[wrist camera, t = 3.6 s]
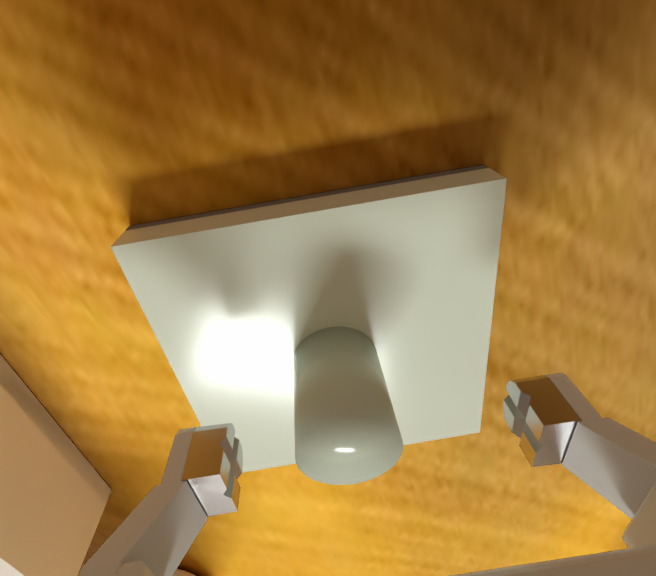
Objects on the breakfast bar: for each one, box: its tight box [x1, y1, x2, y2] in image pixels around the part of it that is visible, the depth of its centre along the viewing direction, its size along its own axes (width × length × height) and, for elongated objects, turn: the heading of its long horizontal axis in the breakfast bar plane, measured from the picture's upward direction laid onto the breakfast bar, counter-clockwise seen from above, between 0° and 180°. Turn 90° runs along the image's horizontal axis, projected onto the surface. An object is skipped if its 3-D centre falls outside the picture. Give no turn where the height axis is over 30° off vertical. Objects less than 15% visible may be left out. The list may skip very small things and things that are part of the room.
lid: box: [111, 168, 507, 485], centre depth 13 cm, size 12×12×5 cm
